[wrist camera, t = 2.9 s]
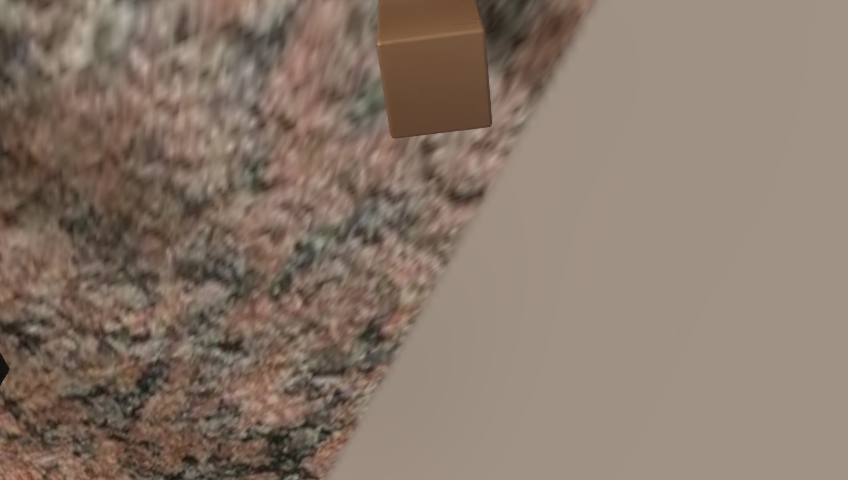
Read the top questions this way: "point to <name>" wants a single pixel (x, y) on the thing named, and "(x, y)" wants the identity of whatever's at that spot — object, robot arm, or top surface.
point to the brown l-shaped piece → (433, 66)
